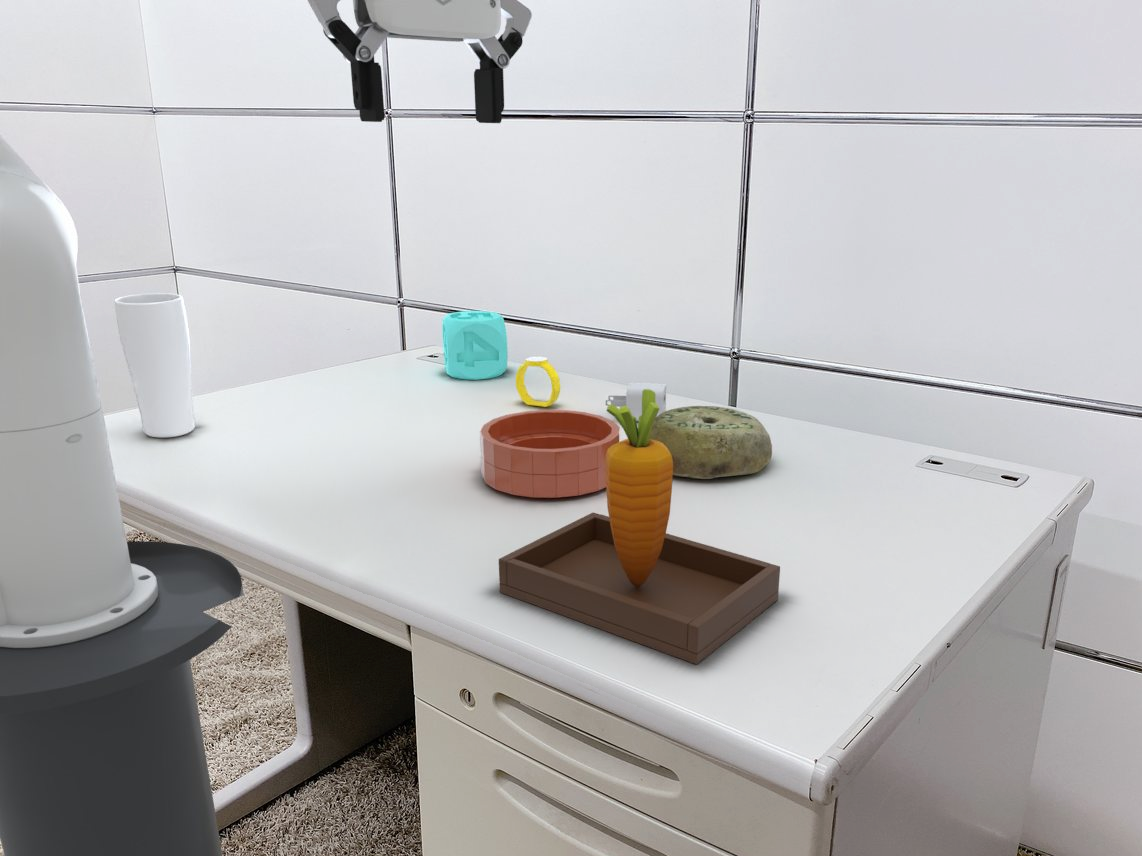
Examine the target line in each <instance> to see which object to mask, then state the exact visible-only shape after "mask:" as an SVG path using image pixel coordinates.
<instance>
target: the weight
mask: <svg viewBox="0 0 1142 856" xmlns="http://www.w3.org/2000/svg"><path fill="white" fill-rule="evenodd" d="M650 439H651V440H656V441H659V442H661V443H663V444H664V445H665V446H666V447H667V449H668V450H669V452H670V454H671V456H672V459H673V476H676V477H685V478H691V479H699V480H700V479H701V480H711V479H715V478H721V477H723V478H724V477H732V476H733V477H734V476H742V475H743V476H744V475H751V474H755V473H759V472H760V471H762V470H763V468H765V467H766V466H767V465H768V464H769V463H770V461H771V459H772V456H773V445H772V439H771V437H770V434H769V432H768V431H767V429H766V428H765V425H763V423H762V422H761V421H760V420H758V418H756V417H755V416H753V415H752V414H749V413H747V412H744V411H741V410H737V409H734V408H730V407H724V406H717V405H716V406H715V405H690V406H689V405H688V406H682V407H677V408H672V409H668V410H666V411H665V412H663V413H661V414H660V415H658V416H657V417H656V418H655V420H654V422H653V425H652V429H651V434H650Z"/></svg>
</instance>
